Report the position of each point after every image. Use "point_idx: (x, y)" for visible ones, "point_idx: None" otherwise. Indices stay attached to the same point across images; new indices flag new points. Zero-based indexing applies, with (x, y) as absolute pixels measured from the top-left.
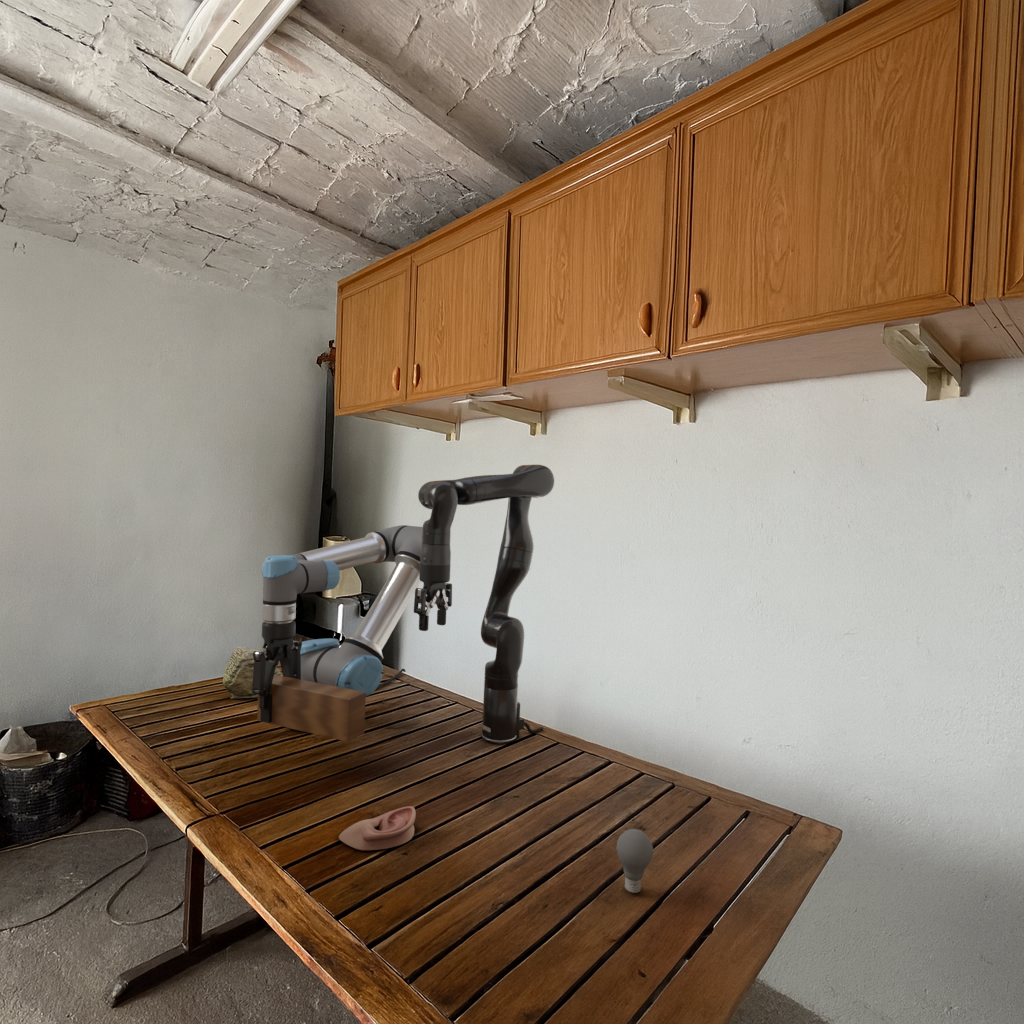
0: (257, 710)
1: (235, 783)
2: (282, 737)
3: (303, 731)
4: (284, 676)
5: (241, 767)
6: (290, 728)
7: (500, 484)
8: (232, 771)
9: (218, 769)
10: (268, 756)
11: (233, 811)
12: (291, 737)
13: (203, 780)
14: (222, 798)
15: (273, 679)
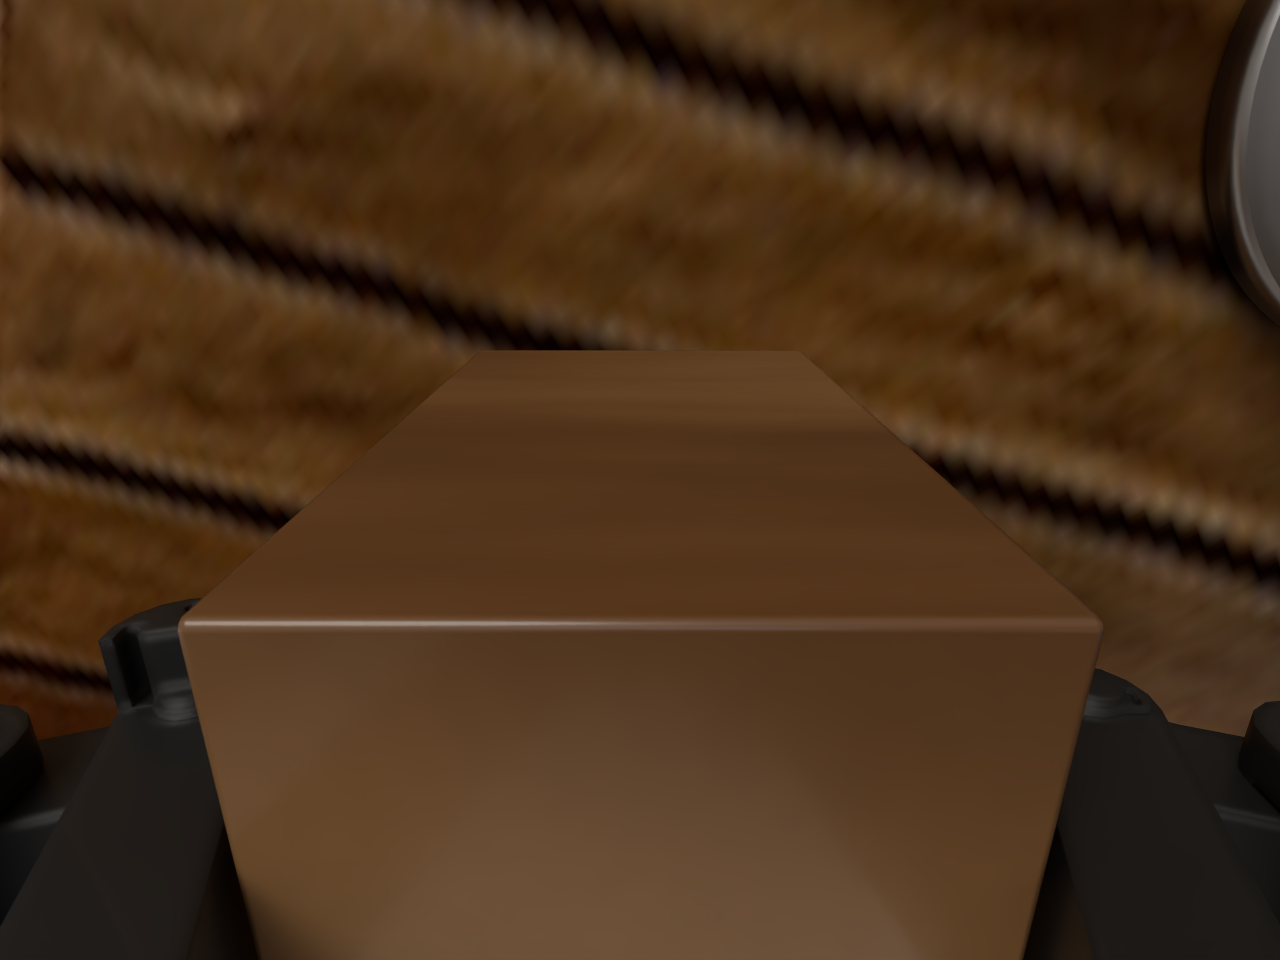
0: (449, 378)
1: (226, 447)
2: (1038, 97)
3: (1207, 185)
4: (1010, 936)
5: (408, 284)
6: (1243, 14)
7: None
8: (325, 281)
9: (281, 155)
10: (658, 306)
11: (27, 688)
12: (1064, 172)
13: (102, 219)
14: (60, 534)
15: (598, 883)
